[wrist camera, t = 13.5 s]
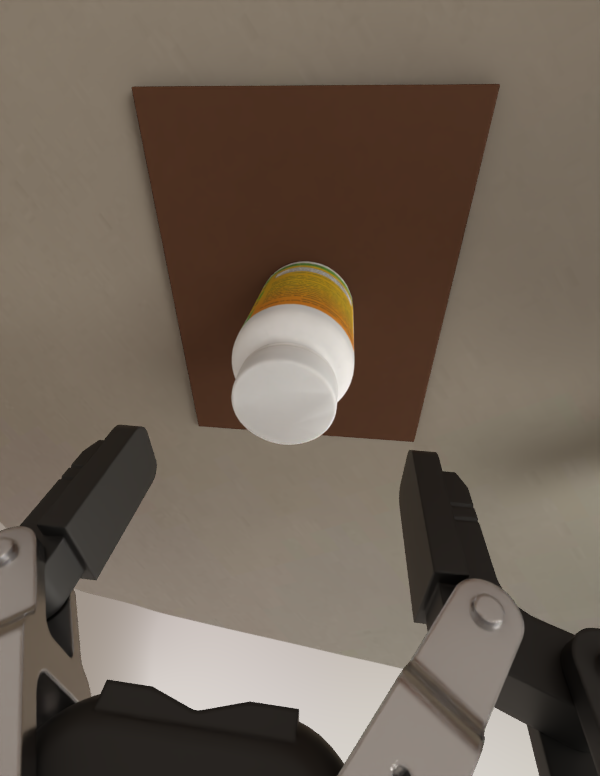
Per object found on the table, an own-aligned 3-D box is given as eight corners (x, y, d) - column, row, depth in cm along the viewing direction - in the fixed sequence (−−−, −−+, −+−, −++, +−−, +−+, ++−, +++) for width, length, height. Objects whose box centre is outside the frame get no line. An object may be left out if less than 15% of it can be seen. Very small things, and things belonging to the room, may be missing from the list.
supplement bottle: (257, 258, 20) (199, 338, 12) (356, 259, 20) (361, 344, 12) (264, 345, 23) (221, 454, 15) (350, 348, 23) (351, 462, 15)
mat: (136, 87, 17) (130, 86, 17) (496, 85, 16) (500, 84, 15) (200, 422, 28) (198, 426, 28) (413, 437, 27) (414, 442, 27)
